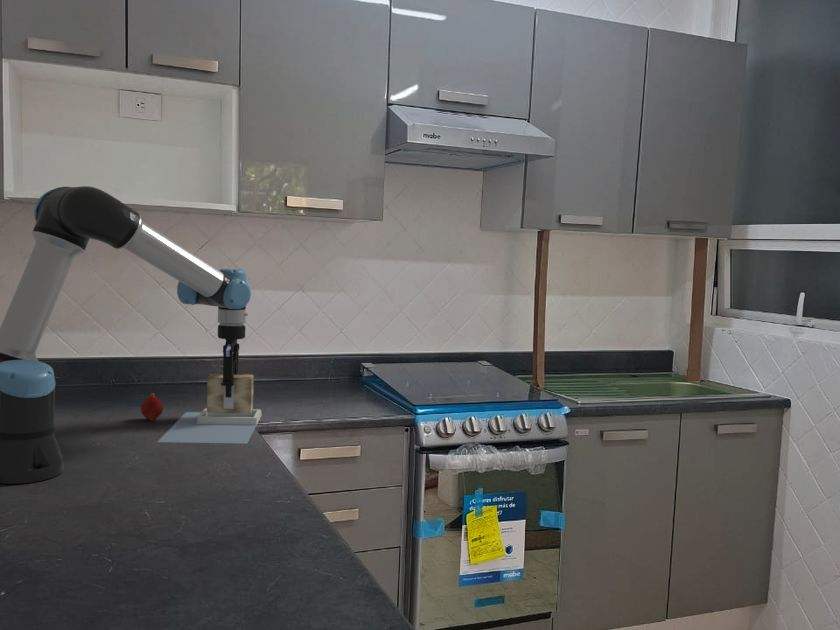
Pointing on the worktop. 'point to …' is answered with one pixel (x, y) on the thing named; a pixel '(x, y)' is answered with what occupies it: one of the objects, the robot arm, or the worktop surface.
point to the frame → (229, 418)
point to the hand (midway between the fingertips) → (230, 406)
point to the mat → (206, 431)
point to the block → (241, 394)
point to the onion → (151, 407)
